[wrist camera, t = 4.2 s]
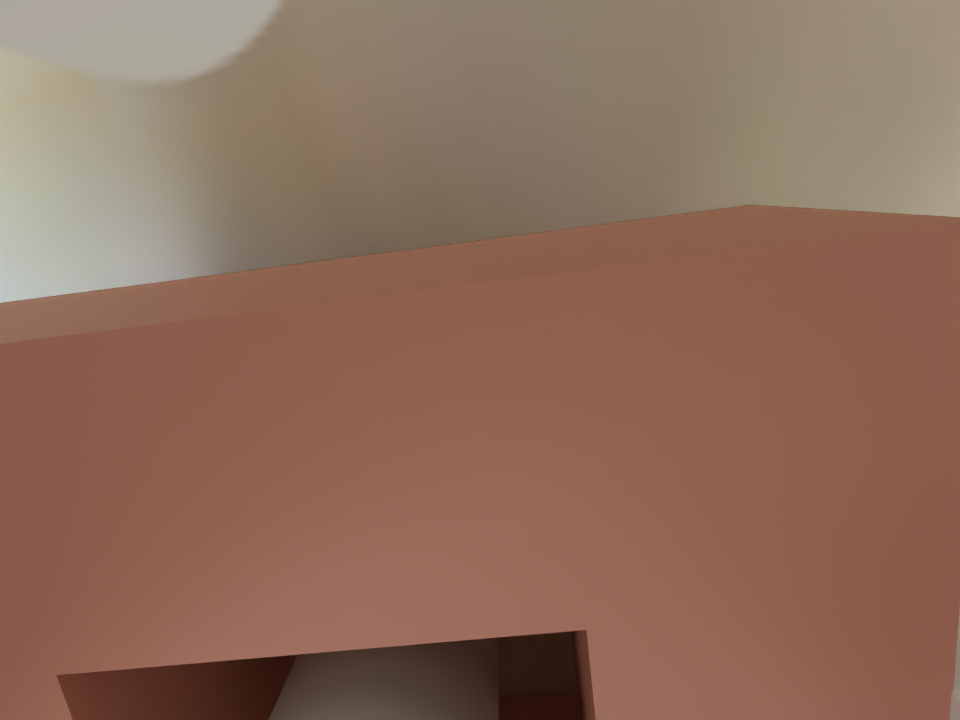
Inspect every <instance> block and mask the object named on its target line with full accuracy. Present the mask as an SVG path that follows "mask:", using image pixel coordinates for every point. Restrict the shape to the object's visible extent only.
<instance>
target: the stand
mask: <svg viewBox="0 0 960 720" xmlns="http://www.w3.org/2000/svg"><path fill="white" fill-rule="evenodd" d="M293 656H294V660H295V661H294V664H293V666H292V668H291V670H290V673H289V675H288V677H287V679H286V682H285V684H284V686H283V688H282V691H281V693H280V695H279V698H278V700H277V702H276V704H275V707H274V709H273V711H272V713H271V716H270V718H269V720H499V700H507V699H520V698H533V697H546V696H558V695H571V694H579V693H578V684H577V675H576V665H575V656H574V647H573V638H572V631H568V632H556V633H544V634H533V635H521V636H509V637H497V638H486V639H474V640H462V641H451V642H439V643H427V644H415V645H404V646H392V647H380V648H369V649H357V650H345V651H334V652H322V653H310V654H298V655H293Z"/></svg>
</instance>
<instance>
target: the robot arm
mask: <svg viewBox="0 0 960 720" xmlns="http://www.w3.org/2000/svg"><path fill="white" fill-rule="evenodd" d="M950 720H960V612H959V625H958V638H957V651H956V664H955V677H954V690H953V691H952V694H951V707H950Z"/></svg>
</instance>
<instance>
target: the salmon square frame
mask: <svg viewBox="0 0 960 720" xmlns="http://www.w3.org/2000/svg"><path fill="white" fill-rule="evenodd" d="M959 612H960V217H945V216H929V215H912V214H895V213H878V212H861V211H845V210H828V209H811V208H794V207H777V206H760V205H746V206H738V207H731V208H723V209H716V210H708V211H700V212H693V213H685V214H677V215H670V216H662V217H654V218H647V219H639V220H631V221H624V222H616V223H608V224H601V225H593V226H586V227H578V228H570V229H563V230H555V231H547V232H540V233H532V234H524V235H517V236H509V237H501V238H494V239H486V240H479V241H471V242H463V243H456V244H448V245H440V246H433V247H425V248H417V249H410V250H402V251H394V252H387V253H379V254H371V255H364V256H356V257H349V258H341V259H333V260H326V261H318V262H310V263H303V264H295V265H287V266H280V267H272V268H264V269H257V270H249V271H242V272H234V273H226V274H219V275H211V276H203V277H196V278H188V279H180V280H173V281H165V282H157V283H150V284H142V285H135V286H127V287H119V288H112V289H104V290H96V291H89V292H81V293H73V294H66V295H58V296H50V297H43V298H35V299H28V300H20V301H12V302H5V303H0V720H269V718H270V716H271V713H272V711H273V709H274V707H275V704H276V702H277V700H278V698H279V695H280V693H281V691H282V688H283V686H284V684H285V682H286V679H287V677H288V675H289V673H290V670H291V668H292V666H293V664H294V661H295V660H294V656H293V655H298V654H310V653H322V652H334V651H345V650H357V649H369V648H380V647H392V646H404V645H415V644H427V643H439V642H451V641H462V640H474V639H486V638H497V637H509V636H521V635H533V634H544V633H556V632H568V631H572V638H573V647H574V656H575V665H576V675H577V684H578V693H579V694H571V695H558V696H546V697H533V698H520V699H507V700H499V720H950V707H951V694H952V691H953V690H954V677H955V664H956V651H957V638H958V625H959Z"/></svg>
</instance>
